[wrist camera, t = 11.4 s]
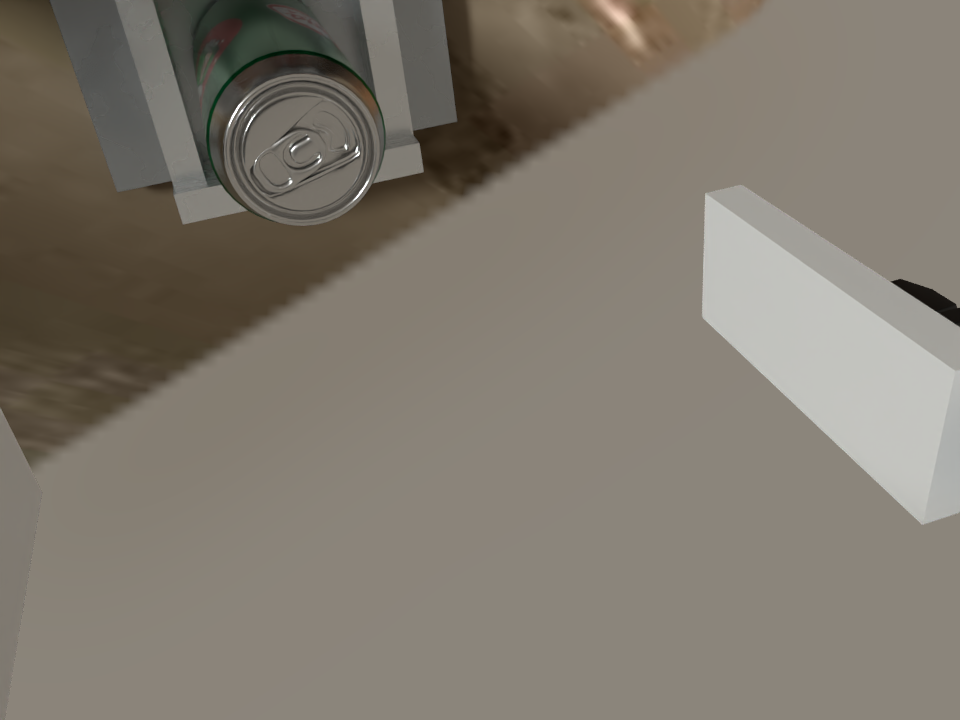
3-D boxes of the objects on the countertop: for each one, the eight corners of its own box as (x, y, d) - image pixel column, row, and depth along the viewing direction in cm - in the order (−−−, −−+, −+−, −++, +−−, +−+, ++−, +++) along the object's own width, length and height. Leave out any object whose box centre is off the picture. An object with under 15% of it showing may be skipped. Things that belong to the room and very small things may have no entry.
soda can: (352, 74, 36) (426, 174, 26) (247, 146, 36) (282, 271, 27) (276, -43, 33) (328, 19, 23) (163, 35, 33) (167, 129, 24)
